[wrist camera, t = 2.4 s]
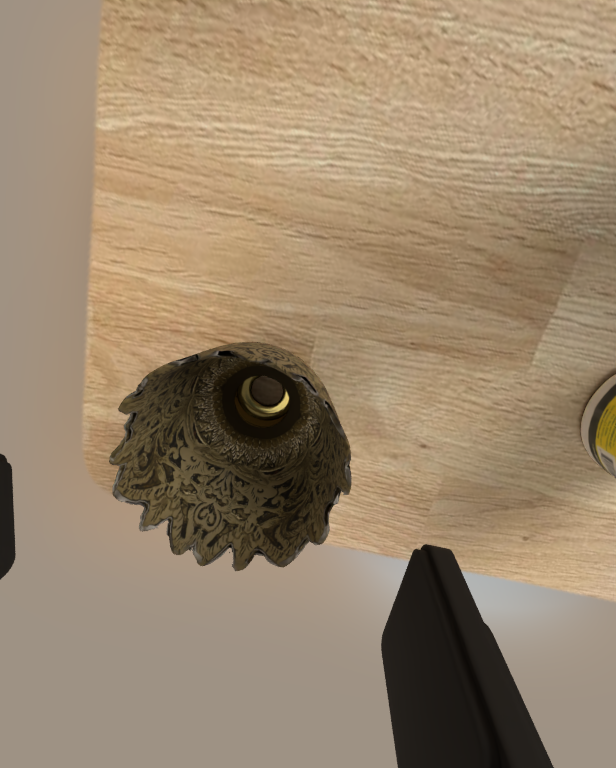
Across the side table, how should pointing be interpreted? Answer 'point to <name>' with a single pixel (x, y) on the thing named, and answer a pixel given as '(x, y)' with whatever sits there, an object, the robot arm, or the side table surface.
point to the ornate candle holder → (233, 455)
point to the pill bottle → (601, 426)
